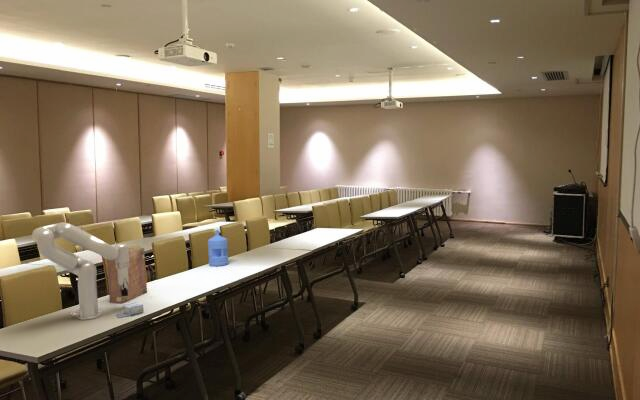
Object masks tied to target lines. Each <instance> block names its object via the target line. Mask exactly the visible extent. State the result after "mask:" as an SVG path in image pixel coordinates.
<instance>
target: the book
mask: <svg viewBox="0 0 640 400" xmlns="http://www.w3.org/2000/svg"><path fill="white" fill-rule="evenodd" d="M128 252H129V266H130V267H129V268H128V277H129V284H128V285H127V290H128V296H122V293H121V286H120V285H119V284H118V274H117V269H116V262H115V260H108V259H106V266H107V267H106V269H107V279H108V281H107V282H108V284H107V285H108V293H109V295H108V296H109V297H108V298H109V303H110V304H112V303H113V304H124V303H127V302H129V301H132V300H134V299H136V298H138V297H141V296H143V295H146V294H147V293H148V290H147V289H148V287H147V285H148V284H147V274H146V273H147V272H146V257H145V255H146V253H145V248H144V247H141V248H133V247H128Z"/></svg>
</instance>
